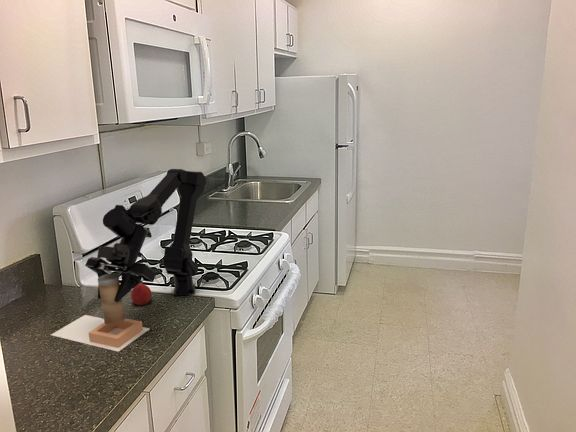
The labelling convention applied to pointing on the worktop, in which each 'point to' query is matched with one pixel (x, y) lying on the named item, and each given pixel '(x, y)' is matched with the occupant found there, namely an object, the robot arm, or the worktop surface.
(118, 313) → the gray-capped wooden tube
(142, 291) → the red oval fruit
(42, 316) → the worktop surface
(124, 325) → the socket
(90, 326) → the mount board
